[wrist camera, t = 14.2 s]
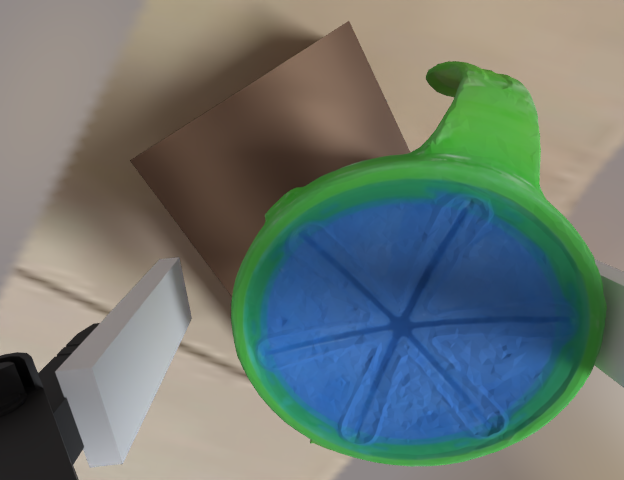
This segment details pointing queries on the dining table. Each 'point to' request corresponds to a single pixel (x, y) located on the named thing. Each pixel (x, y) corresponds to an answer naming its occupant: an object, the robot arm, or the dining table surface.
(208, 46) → the dining table surface
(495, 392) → the snack cup
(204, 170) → the walnut block
